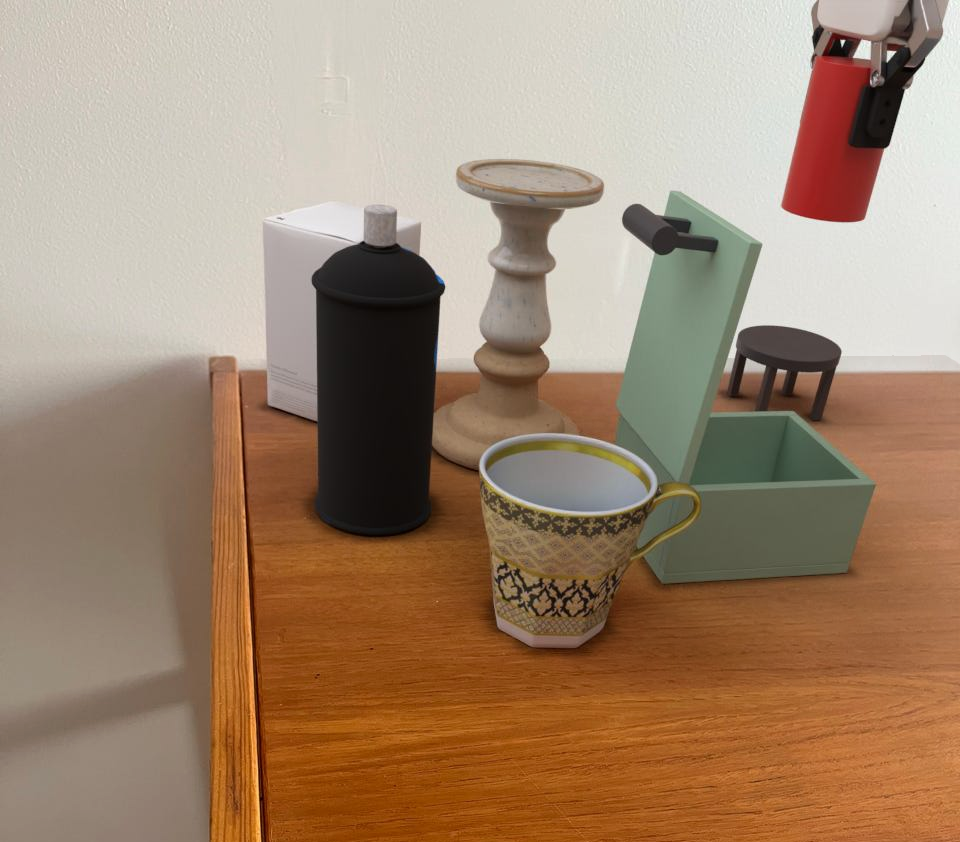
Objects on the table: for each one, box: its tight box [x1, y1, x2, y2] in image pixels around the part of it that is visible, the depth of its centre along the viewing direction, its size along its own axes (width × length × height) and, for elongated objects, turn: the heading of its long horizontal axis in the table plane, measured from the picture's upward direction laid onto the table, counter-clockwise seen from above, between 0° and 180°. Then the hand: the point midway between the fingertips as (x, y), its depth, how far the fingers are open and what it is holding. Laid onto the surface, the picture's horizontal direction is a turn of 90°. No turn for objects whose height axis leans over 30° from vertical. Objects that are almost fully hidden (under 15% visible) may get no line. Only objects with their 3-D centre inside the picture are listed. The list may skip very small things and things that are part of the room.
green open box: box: [613, 410, 877, 585], centre depth 71 cm, size 14×12×7 cm
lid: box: [615, 190, 763, 484], centre depth 63 cm, size 14×12×5 cm
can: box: [780, 56, 885, 223], centre depth 79 cm, size 7×7×10 cm
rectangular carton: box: [262, 200, 422, 422], centre depth 82 cm, size 9×9×15 cm
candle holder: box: [432, 158, 605, 471], centre depth 77 cm, size 12×12×20 cm
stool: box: [726, 324, 843, 421], centre depth 92 cm, size 9×9×6 cm
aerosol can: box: [311, 204, 446, 537], centre depth 67 cm, size 8×8×20 cm
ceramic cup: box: [478, 433, 701, 649], centre depth 60 cm, size 13×10×10 cm
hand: (842, 135), depth 79 cm, fingers closed on can, 6 cm apart
